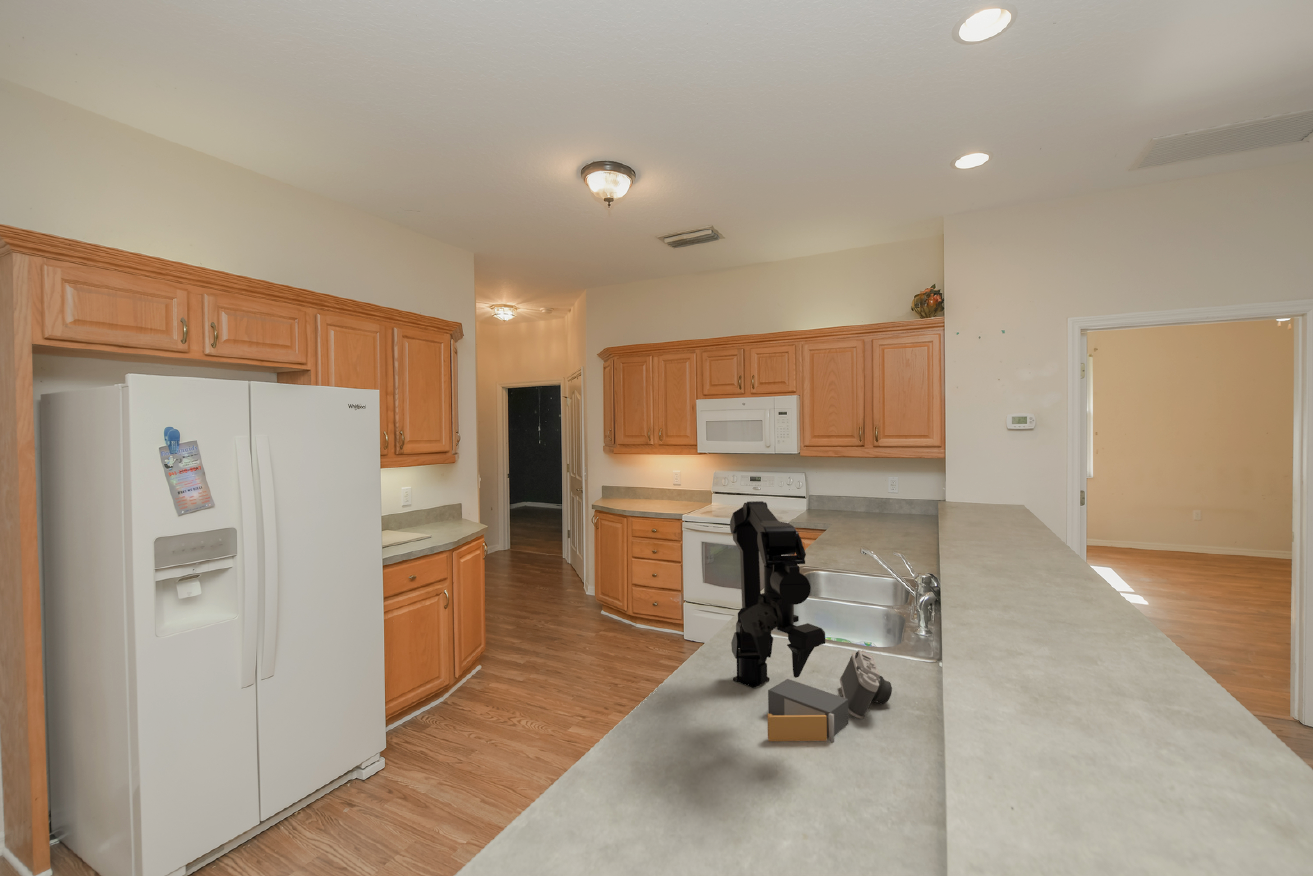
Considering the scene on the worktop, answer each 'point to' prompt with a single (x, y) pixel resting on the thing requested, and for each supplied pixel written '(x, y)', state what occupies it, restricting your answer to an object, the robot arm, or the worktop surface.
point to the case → (808, 704)
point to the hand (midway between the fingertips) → (779, 669)
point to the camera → (863, 684)
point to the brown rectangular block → (797, 727)
